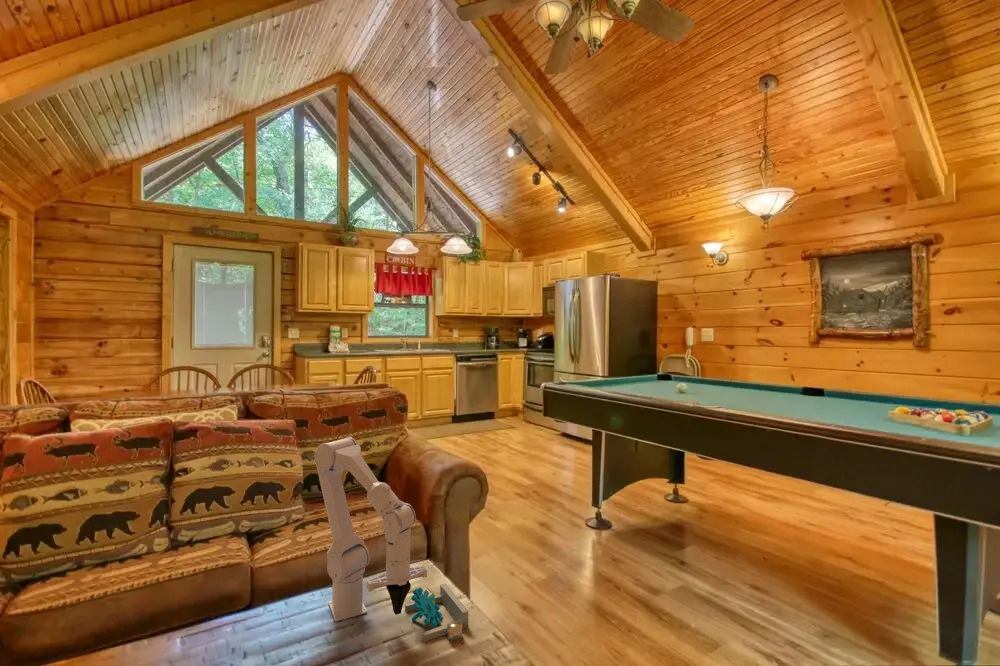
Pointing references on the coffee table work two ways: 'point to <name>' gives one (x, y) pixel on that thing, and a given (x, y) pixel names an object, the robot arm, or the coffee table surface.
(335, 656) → the coffee table surface
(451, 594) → the cradle
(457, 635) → the bushing
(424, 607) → the gear
